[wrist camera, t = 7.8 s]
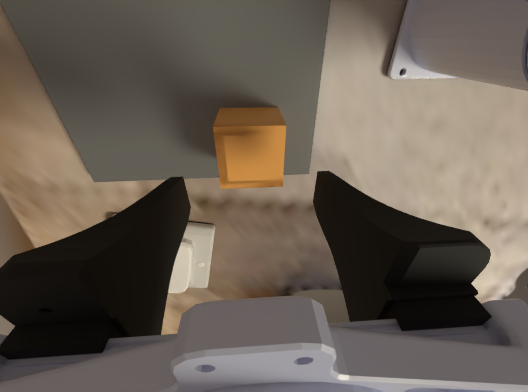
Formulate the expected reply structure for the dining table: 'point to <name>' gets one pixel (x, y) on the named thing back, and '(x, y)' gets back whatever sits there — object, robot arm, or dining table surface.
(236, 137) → the orange panelled cube
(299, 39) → the board
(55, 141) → the dining table surface
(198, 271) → the light switch
